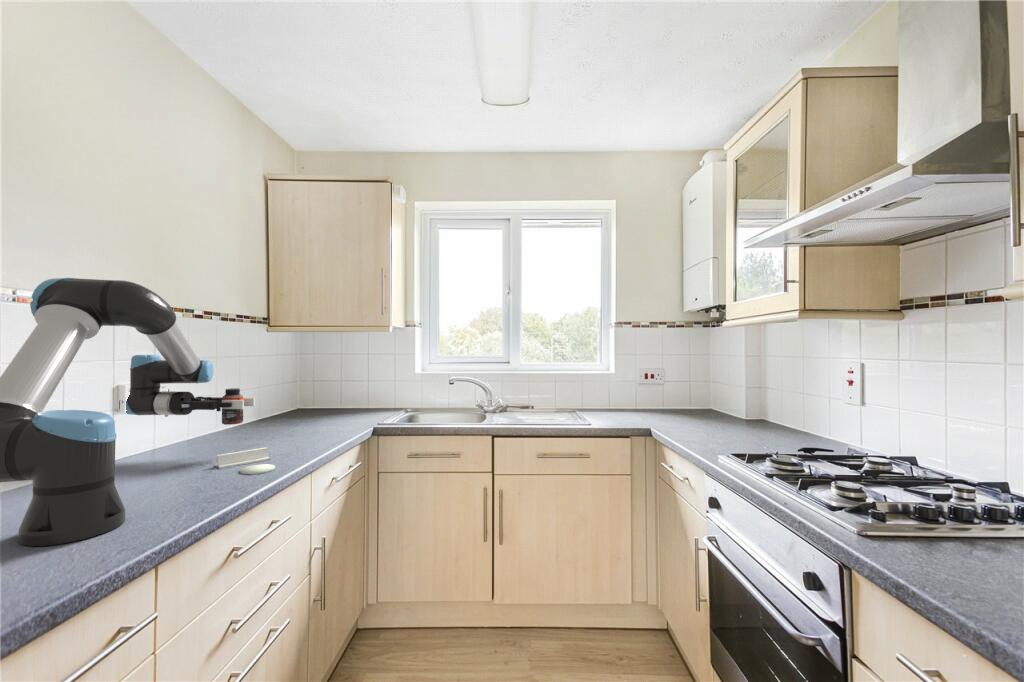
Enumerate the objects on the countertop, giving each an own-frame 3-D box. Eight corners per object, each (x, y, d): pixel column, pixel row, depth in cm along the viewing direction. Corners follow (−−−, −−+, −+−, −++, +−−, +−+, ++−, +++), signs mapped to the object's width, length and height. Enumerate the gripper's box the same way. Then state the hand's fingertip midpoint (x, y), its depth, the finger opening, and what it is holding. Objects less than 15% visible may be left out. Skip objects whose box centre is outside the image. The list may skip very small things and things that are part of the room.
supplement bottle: (241, 421, 150) (242, 387, 151) (244, 423, 146) (245, 388, 146) (220, 423, 147) (220, 388, 147) (222, 425, 142) (223, 389, 142)
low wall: (270, 459, 143) (270, 448, 143) (219, 468, 133) (219, 456, 133) (264, 457, 146) (264, 446, 146) (214, 465, 136) (214, 454, 136)
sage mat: (280, 469, 132) (280, 468, 132) (246, 476, 125) (246, 474, 125) (268, 464, 138) (268, 462, 138) (235, 470, 131) (235, 468, 131)
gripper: (195, 410, 155) (263, 410, 156) (153, 419, 136) (231, 419, 137) (195, 388, 155) (264, 389, 156) (153, 394, 136) (232, 394, 137)
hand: (248, 403), depth 146 cm, fingers closed on supplement bottle, 6 cm apart
